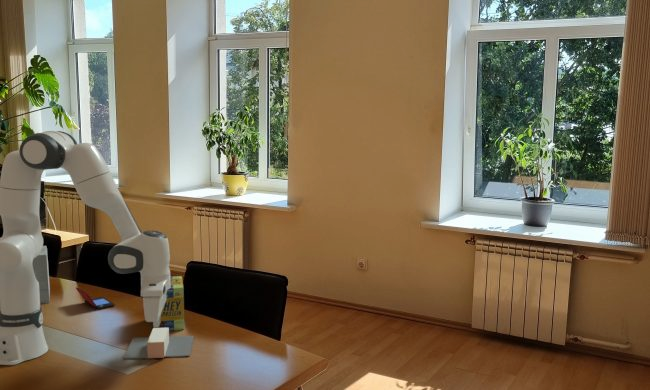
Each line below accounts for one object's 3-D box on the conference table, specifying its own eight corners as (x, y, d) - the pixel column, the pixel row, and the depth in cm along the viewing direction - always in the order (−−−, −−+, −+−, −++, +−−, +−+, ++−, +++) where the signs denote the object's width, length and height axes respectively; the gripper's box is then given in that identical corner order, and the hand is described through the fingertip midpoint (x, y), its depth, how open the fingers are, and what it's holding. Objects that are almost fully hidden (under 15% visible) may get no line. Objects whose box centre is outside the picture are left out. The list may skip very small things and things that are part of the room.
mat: (123, 359, 184) (123, 357, 184) (133, 339, 200) (133, 337, 199) (189, 356, 186) (189, 355, 186) (193, 337, 202) (193, 335, 202)
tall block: (147, 342, 183) (153, 328, 195) (147, 358, 184) (153, 342, 196) (163, 342, 184) (168, 327, 196) (164, 357, 184) (169, 341, 197)
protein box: (153, 332, 206) (152, 289, 204) (154, 317, 220) (152, 276, 218) (184, 330, 209) (183, 287, 206) (183, 315, 223) (182, 275, 221)
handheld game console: (115, 307, 232) (115, 288, 230) (87, 313, 224) (86, 294, 223) (103, 299, 241) (102, 281, 240) (76, 304, 234) (75, 286, 233)
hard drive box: (29, 294, 245) (26, 246, 242) (49, 291, 248) (47, 245, 245) (28, 305, 231) (25, 255, 228) (50, 303, 234) (47, 253, 231)
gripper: (150, 273, 194) (151, 314, 196) (139, 293, 174) (140, 338, 176) (170, 273, 195) (171, 313, 197) (161, 292, 175) (162, 337, 177)
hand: (156, 325), depth 186 cm, fingers closed
